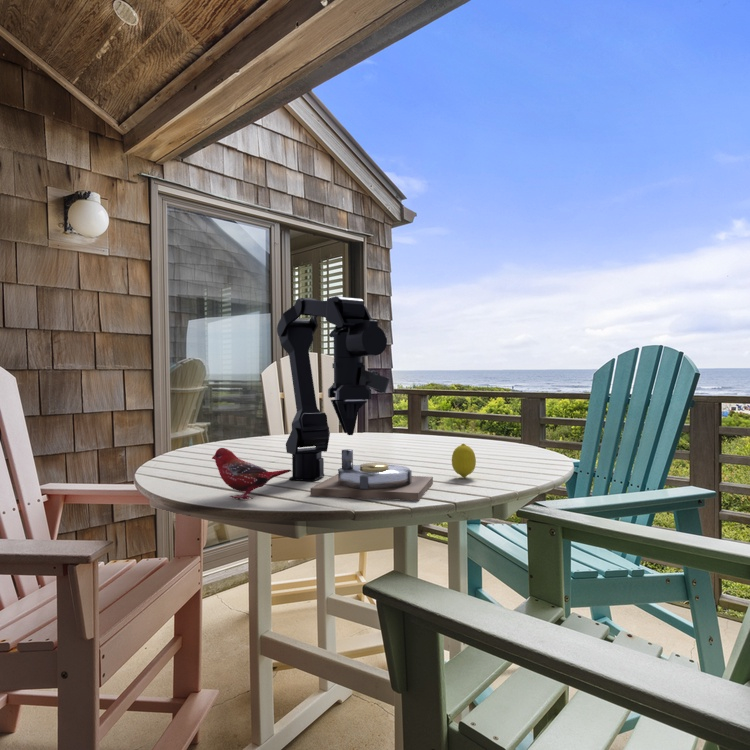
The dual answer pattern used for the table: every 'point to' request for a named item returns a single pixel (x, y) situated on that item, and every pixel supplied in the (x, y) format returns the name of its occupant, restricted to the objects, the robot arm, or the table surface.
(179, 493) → the table surface
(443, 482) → the table surface
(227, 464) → the decorative bird figurine
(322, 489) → the base plate
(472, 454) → the lemon
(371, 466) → the notched round platform
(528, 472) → the table surface
